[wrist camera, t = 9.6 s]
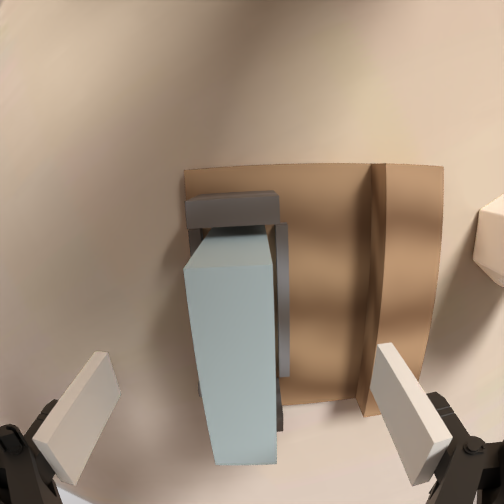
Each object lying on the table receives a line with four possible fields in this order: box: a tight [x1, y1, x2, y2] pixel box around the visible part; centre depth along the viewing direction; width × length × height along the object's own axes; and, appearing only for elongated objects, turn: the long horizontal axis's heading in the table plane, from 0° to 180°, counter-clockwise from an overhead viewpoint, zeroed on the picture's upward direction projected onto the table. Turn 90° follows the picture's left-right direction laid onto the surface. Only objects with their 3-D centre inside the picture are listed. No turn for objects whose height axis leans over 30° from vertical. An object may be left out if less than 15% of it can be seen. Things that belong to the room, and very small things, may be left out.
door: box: [183, 225, 277, 465], centre depth 19 cm, size 12×4×10 cm, turn 3°
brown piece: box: [184, 163, 444, 432], centre depth 22 cm, size 20×18×6 cm
